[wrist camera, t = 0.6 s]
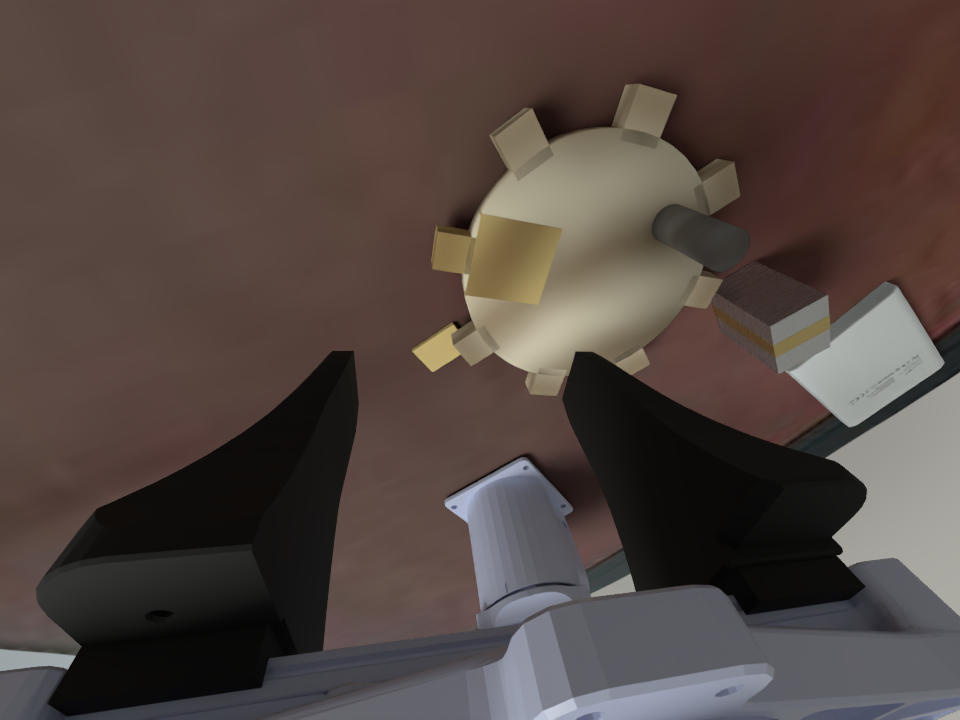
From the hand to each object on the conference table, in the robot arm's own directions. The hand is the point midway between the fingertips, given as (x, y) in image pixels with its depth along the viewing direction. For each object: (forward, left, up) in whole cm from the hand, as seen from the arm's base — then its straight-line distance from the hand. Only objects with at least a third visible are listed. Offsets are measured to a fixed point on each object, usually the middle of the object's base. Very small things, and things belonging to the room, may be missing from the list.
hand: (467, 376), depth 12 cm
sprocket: (-4, -6, -10) cm, 12 cm away
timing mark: (-4, +3, -10) cm, 11 cm away
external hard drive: (-26, -22, -11) cm, 36 cm away
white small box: (-13, -14, -10) cm, 22 cm away
